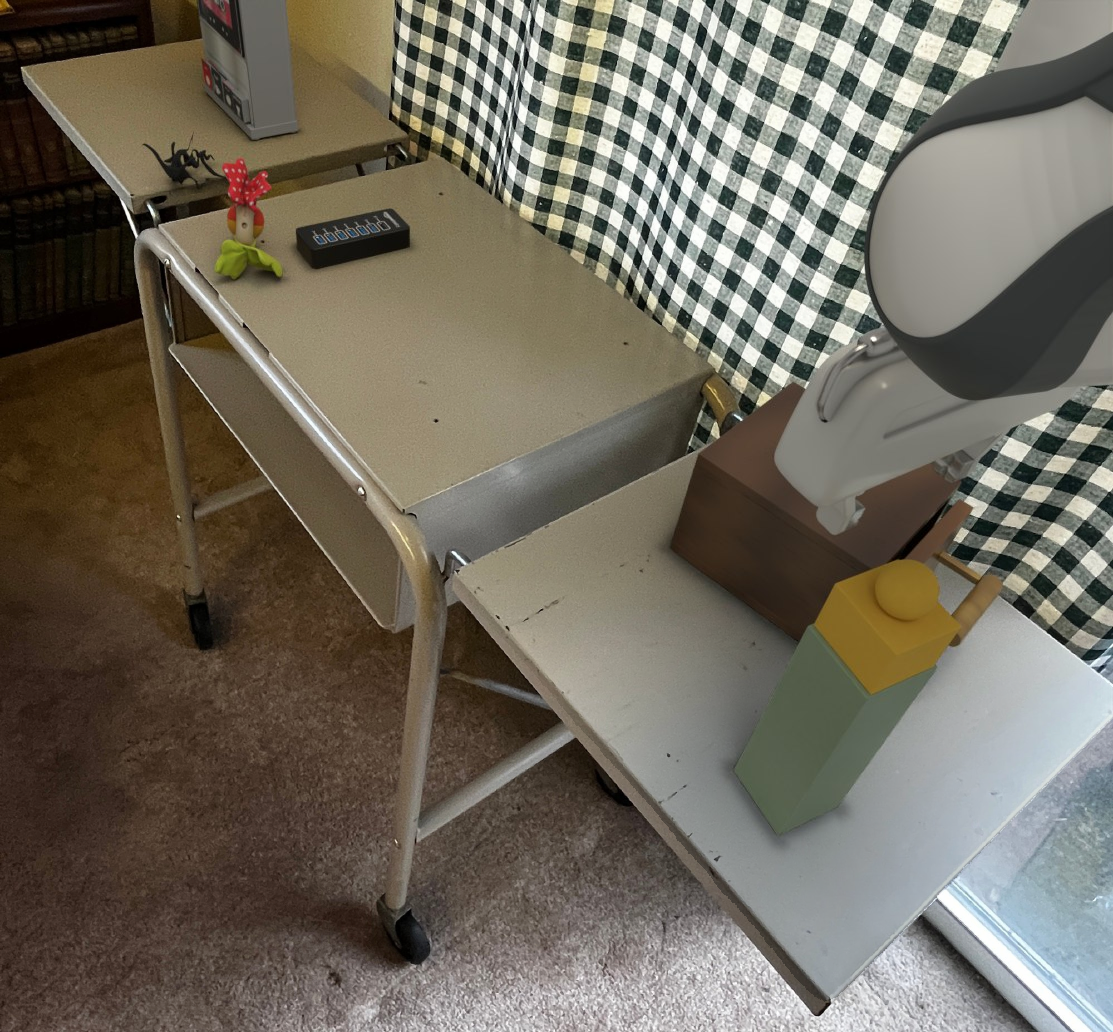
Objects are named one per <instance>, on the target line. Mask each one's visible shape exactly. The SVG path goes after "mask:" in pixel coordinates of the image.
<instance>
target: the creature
mask: <svg viewBox="0 0 1113 1032" xmlns="http://www.w3.org/2000/svg"><path fill="white" fill-rule="evenodd" d="M194 132H195V131H193V132H192V135H191V138H190V141H189V143H188V148H181V149H177V150H176V152H175V147H176V141H173V142H172V143H171V145H170V151H171V156H170V157H169V158H167V159H164V160H163V159H162V158H161V156H160V154H159V153H158V151H156V150H155V149H154V148H153V147H152V146H151V145H149V144H147V143H142V145H141V146H144V147H146V148H147V149H148V150H150V152H152V154H153V155H154V157H155V158H156V161H157V162H158V163H159V165H160V166H161V167H162V169H163V170H164V172H165V174H166V175H167V176H168V177H169V178H170V179H171V181H172V182H177V183H179V184H180V186H183V183H184V182H185V181H186V180H187V179H191V180H193V181H194V182H195V185H196V187H197V188H198V189H201V188H202V187H203V185H205V184H206V182H202V183H201V184H200V185H199V181H198V180H197V179H196V178H194V177H193V176H192V175H191V174H190V173H189V171H188V170H187V169H186V168H189V167H192V168H193V169H196V170H197V169H198V168H199V167H200V162H201V164H202V165H203V167H204V168H205V169H206V171H208V172H209V174H211V175H212V176H214V177H205V178H204V179H205V180H206V181H207V182H209V180H213V179H214V180H215V179H216V180H217V179H219V180H220V179H221V180H222V179H223V180H228V179H227V178H226V176H224V175H222V174H220V173H217V172H216V171H215V170H214V169H213V168H212V167H211V166H210V165H209V164H208V163H207V162H206V161H209V160H210V159H212V160H213V161H215V158H214V157H213V155H212V154H208V155H207V150H206V149H202V150H200V151H199V150H198V149H196V148H192V149H191V153H190V154H189V153H188V151H189V150H190V147H191V146H190V145H191V143H192V141H193V139H194V134H195V133H194ZM194 152H195V156H196V157H195V156H194V154H193V153H194ZM182 158H183V163H182V160H181V159H182ZM167 164H170V165H167Z"/></svg>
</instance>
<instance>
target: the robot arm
mask: <svg viewBox="0 0 1113 1032" xmlns="http://www.w3.org/2000/svg"><path fill="white" fill-rule="evenodd" d="M865 230H866V231H865V237H864V246H863V247H864V249H863V250H864V252H863V263H864V264H863V266H864V275H865V282H866V287H867V291H868V295H869V298H870V301H871V304H872V306H873V308H874V310H875V313H876V314H877V316H878V318H879V320H880V321H881V323H882V325H883V327H878V328H875V329H872V330H869V331H867V332H865V333H864V334H862V335H861V336H860V337H859V338H858V339H857V340H855V341H853V342H850V343H848V344H846V345H843V346H841V347H840V348H838V349H837V350H834V352H833V353H831V354H830V355H829V356H828V357H827V358H826V359H825V360H824V361H823V362H822V363H821V365H820V366H819V368H817V370H816V371H815V373H814V374H813V376H812V377H811V378H810V380H809V382H808V384H807V386H806V388H805V391H804V393H803V395H802V397H801V398H800V400H799V402H798V404H797V406H796V408H795V410H794V412H793V414H792V416H791V418H790V420H789V422H788V424H787V426H786V428H785V430H784V432H783V434H782V436H781V439H780V441H779V443H778V445H777V448H776V451H775V454H774V461H775V464H776V466H777V468H778V470H779V471H780V472H781V474H782V475H783V476H784V477H785V478H786V480H787V481H788V482H789V483H790V484H791V485H792V486H793V487H794V488H795V489H796V490H797V491H798V492H799V493H800V494H802V495H803V496H804V497H805V498H806V499H807V500H808V501H810V502H811V503H812V504H813V505H815V506H817V507H818V509H817V512H816V517H817V519H818V521H819V522H820V523H821V524H822V525H823V526H824V527H825V528H826V529H827V530H828V531H829V532H830V533H831V534H833V535H838V534H840V533H842V532H844V531H846V530H848V529H850V528H852V527H854V526H857V524H858V519H859V518H860V517H861V516H862V514H863V512H864V510H865V507H864V506H863V505H862V504H861V503H860V502H859V501H858V500H856V499H855V497H856V496H860V495H862V494H863V493H864V492H865V491H866V490H868V489H870V488H873V487H875V486H877V485H880V484H882V483H884V482H887V481H889V480H891V479H894V478H896V477H898V476H901V475H903V474H905V473H908V472H910V471H912V470H915V469H917V468H919V467H922V466H924V465H926V464H929V463H931V464H932V466H933V469H934V471H935V472H936V473H937V474H939V475H942V476H943V479H944V480H946V481H947V482H948V483H953V482H955V481H957V480H960V481H961V480H963V479H965V478H967V477H969V476H971V475H972V473H973V472H974V471H975V468H976V467H977V465H978V463H979V462H980V460H981V459H982V457H984V456H985V455H986V454H987V453H988V452H989V451H991V449H992V448H994V446H995V445H997V444H998V443H999V442H1000V441H1001V440H1002V439H1003V438H1004V437H1006V435H1007V434H1008V433H1009V432H1010V430H1011V429H1012V428H1015V427H1017V426H1020V425H1022V424H1024V423H1027V422H1029V421H1032V420H1034V419H1036V418H1039V417H1041V416H1043V415H1046V414H1047V413H1050V412H1051V413H1052V412H1053V411H1055V410H1057V409H1059V408H1060V407H1062V406H1063V405H1064V404H1065V403H1067V402H1068V401H1069V400H1070V399H1071V398H1072V397H1073V396H1075V394H1076V393H1078V392H1079V391H1080V390H1081V388H1083V387H1095V386H1112V385H1113V0H1028V2H1027V4H1026V5H1025V7H1024V9H1023V12H1022V13H1021V15H1020V17H1019V19H1018V21H1017V23H1016V25H1015V27H1014V29H1013V30H1012V33H1011V35H1010V37H1009V39H1008V41H1007V43H1006V45H1005V47H1004V49H1003V52H1002V53H1001V56H1000V58H999V60H998V62H997V64H996V67H995V69H994V71H993V72H991V73H986V74H984V75H982V76H980V77H978V78H975V79H974V80H972V81H970V82H968V83H967V84H965V85H964V86H962V87H961V88H960V89H959V90H957V91H956V92H955V93H954V94H953V95H952V96H951V97H950V98H948V99H947V100H946V101H945V102H944V103H943V104H942V105H940V106H939V107H938V108H937V109H936V110H935V111H934V112H933V113H932V114H931V115H930V116H929V117H928V118H927V120H925V121H924V122H923V123H922V125H921V126H920V127H919V128H918V129H917V130H916V132H915V133H914V134H913V135H912V137H911V138H910V139H909V140H908V142H907V143H906V144H905V145H904V147H902V149H901V151H900V152H899V153H898V155H897V156H896V158H895V159H894V161H893V162H892V164H891V165H890V167H889V168H888V170H887V172H886V174H885V176H884V177H883V179H882V181H881V183H880V185H879V187H878V189H877V192H876V194H875V196H874V200H873V202H872V206H871V208H870V212H869V215H868V220H867V224H866V229H865Z"/></svg>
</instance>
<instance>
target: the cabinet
mask: <svg viewBox="0 0 1113 1032" xmlns="http://www.w3.org/2000/svg"><path fill="white" fill-rule="evenodd" d="M805 389H806V388H805V387H804V386H802V385H800V384H798V383H796V381H792V382H790V383H789V384H788V385H786V386H785V387H783V388H782V389H781V390H780V391H779V392H778V393H776V394H775V395H774V396H772V397H771V398H769V399H768V400H767V401H766V402H764V403H763V404H762V405H760V406H759V407H758V408H756V409H755V410H754V411H752V412H751V413H750V414H749V415H747V416H746V417H744V418H743V419H742V420H741V421H739V422H738V423H737V424H735V425H734V426H733V427H731V428H730V429H729V430H727V431H726V432H724V433H723V434H722V435H721V436H719V437H718V438H716V439H715V441H713V442H711V443H710V444H709V445H708V446H707V447H705V448H704V449H702V450H701V451H699V453H697V457H696V460H695V463H694V465H693V466H694V467H693V470H692V473H691V476H690V479H689V482H688V485H687V489H686V493H685V496H684V499H683V502H682V505H681V509H680V512H679V515H678V517H677V521H676V525H675V528H674V531H673V535H672V538H671V541H670V545H669V549H670V550H672V551H673V552H675V554H677V555H679V556H680V557H681V558H683V559H684V560H686V561H687V562H688V563H690V564H691V565H692V566H693V567H695V568H696V569H698V570H699V571H701V572H702V573H703V574H704V575H706V576H708V578H710V579H711V580H713V581H714V582H716V583H717V584H719V585H720V586H722V588H724V589H725V590H727V591H728V592H729V593H731V594H733V595H734V596H735V597H737V598H738V599H740V600H741V601H742V602H743V603H745V604H746V605H748V606H749V607H751V608H752V609H753V610H755V611H756V612H757V613H758V614H760V615H761V616H763V617H764V618H766V619H767V620H768V621H770V622H771V623H773V624H774V625H775V626H777V627H778V628H779V629H781V630H782V631H783V632H785V633H786V634H787V635H789V636H790V637H792V638H793V639H794V640H796V641H797V642H798V643H799V642H800V640H801V638H802V636H803V635H804V633H805V631H806V629H807V627H808V626H809V625H811V624H814V623H815V621H816V620H817V618H818V616H819V614H820V612H821V610H822V608H823V606H824V604H825V602H826V600H827V598H828V597H829V595H830V593H831V591H832V589H833V587H834V585H835V584H836V583H838V582H840V581H843V580H846V579H848V578H851V577H853V576H856V575H859V574H861V573H864V572H866V571H869V570H872V569H874V568H877V567H880V566H882V565H885V564H887V563H890V562H891V561H892V560H893V559H894V557H895V556H896V555H897V554H898V553H899V552H900V551H901V550H902V549H903V548H904V547H905V546H906V545H907V546H906V548H905V549H904V551H903V553H902V555H901V556H900V558H899V560H904V558H905V557H906V556H907V555H908V554H909V553H910V552H911V551H912V550H913V549H914V548H915V546H916V545H917V544H918V543H919V542H920V541H921V540H922V539H923V538H924V537H925V536H926V534H927V533H928V532H929V531H930V530H931V529H932V528H933V527H934V526H935V525H936V524H937V522H938V521H939V520H940V519H941V518H942V517H943V515H944V513H945V511H946V510H947V507H949V505H950V503H951V501H952V499H953V498H954V496H955V495H956V493H957V491H958V489H959V488H960V486H961V485H962V480H961V479H960V480H957V481H955V482H953V483H948V482H947V481H946V480H944V479H943V476H942V475H939V474H937V473H936V472H935V471H934V469H933V466H932V462H931V463H929V464H926V465H924V466H922V467H919V468H917V469H915V470H912V471H910V472H908V473H905V474H903V475H901V476H898V477H896V478H894V479H891V480H889V481H887V482H884V483H882V484H880V485H877V486H875V487H873V488H870V489H868V490H866V491H865V492H864V493H863V494H862V495H860V496H856V497H855V499H856V500H858V501H859V502H860V503H861V504H862V505H863V506H864V507H865V510H864V512H863V514H862V516H861V517H860V518H859V519H858V524H857V526H854V527H852V528H850V529H848V530H846V531H844V532H842V533H840V534H838V535H833V534H831V533H830V532H829V531H828V530H827V529H826V528H825V527H824V526H823V525H822V524H821V523H820V522H819V521H818V519H817V517H816V512H817V509H818V507H817V506H815V505H813V504H812V503H811V502H810V501H808V500H807V499H806V498H805V497H804V496H803V495H802V494H800V493H799V492H798V491H797V490H796V489H795V488H794V487H793V486H792V485H791V484H790V483H789V482H788V481H787V480H786V478H785V477H784V476H783V475H782V474H781V472H780V471H779V470H778V468H777V466H776V464H775V461H774V454H775V451H776V448H777V445H778V443H779V441H780V439H781V436H782V434H783V432H784V430H785V428H786V426H787V424H788V422H789V420H790V418H791V416H792V414H793V412H794V410H795V408H796V406H797V404H798V402H799V400H800V398H801V397H802V395H803V393H804V391H805ZM908 542H909V543H908ZM907 543H908V544H907Z"/></svg>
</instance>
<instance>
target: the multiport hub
mask: <svg viewBox="0 0 1113 1032" xmlns="http://www.w3.org/2000/svg"><path fill="white" fill-rule="evenodd" d="M295 238H296V248H297V252H298V253H300V255H301V256H302V257H303V258H304V260H305V261H306V262H307V264H308V265H309V266H310V267H311V268H312V269H314V270H319V269H323V268H327V267H332V266H336V265H340V264H345V263H349V262H353V261H357V260H361V259H365V258H370V257H374V256H378V255H379V256H380V255H384V254H386V253H392V252H396V251H400V250H404V249H405V250H406V249H409V248H410V247H411V226H410V225H409V224H408V222H406V220H404V218H402V217H401V215H400V214H399V213H398V212H397V211H396V210H395V209H393V208H384V209H380V210H375V211H369V212H366V213H365V212H364V213H361V214H355V215H351V216H346V217H342V218H337V219H332V220H328V221H323V222H317V223H314V224H313V223H312V224H308V225H303V226H299V227H296V228H295Z"/></svg>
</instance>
